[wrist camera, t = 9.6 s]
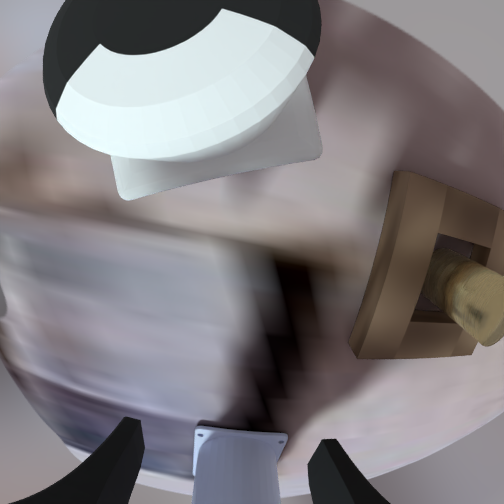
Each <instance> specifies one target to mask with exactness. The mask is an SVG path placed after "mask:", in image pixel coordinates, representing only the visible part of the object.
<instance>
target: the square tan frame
mask: <svg viewBox="0 0 504 504" xmlns="http://www.w3.org/2000/svg"><path fill="white" fill-rule="evenodd" d="M438 233H440V234H444V235H447V236H451V237H454V238H458V239H461V240H465V241H468V242H472V243H474V246H473V250H472V254H471V257H470V259H471V260H473V261H475V262H477V263H479V264H481V265H483V266H485V267H487V268H489V269H491V270H492V271H494V272H496V273H498V274H500V275H502V276H504V210H502V209H500V208H498V207H496V206H494V205H492V204H490V203H488V202H485V201H483V200H481V199H479V198H477V197H474V196H472V195H470V194H467V193H465V192H463V191H460V190H458V189H456V188H453V187H451V186H448V185H446V184H443V183H440V182H438V181H435V180H433V179H430V178H427V177H424V176H422V175H419V174H416V173H413V172H409V171H394V174H393V180H392V185H391V191H390V196H389V201H388V206H387V210H386V215H385V220H384V224H383V228H382V233H381V237H380V241H379V245H378V249H377V253H376V256H375V260H374V264H373V267H372V271H371V275H370V278H369V281H368V285H367V288H366V291H365V295H364V298H363V301H362V304H361V307H360V310H359V313H358V316H357V319H356V322H355V325H354V328H353V331H352V334H351V336H350V339H349V342H348V343H349V345H350V347H351V349H352V350H353V352H354V354H355V356H356V358H357V359H417V358H438V357H453V356H465V355H472V353H473V351H474V349H475V347H476V345H477V343H478V341H477V340H476V339H475V338H474V337H472V336H471V335H470V334H469V333H468V332H467V331H466V330H464V329H463V328H462V327H461V326H460V325H459V324H457V323H456V322H455V321H454V320H453V319H451V318H450V317H449V316H448V315H447V314H445V313H444V312H434V311H421V310H414V309H415V306H416V304H417V301H418V298H419V295H420V292H421V289H422V286H423V283H424V280H425V277H426V274H427V270H428V267H429V264H430V260H431V257H432V253H433V250H434V246H435V242H436V238H437V234H438Z"/></svg>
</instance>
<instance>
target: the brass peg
mask: <svg viewBox="0 0 504 504" xmlns="http://www.w3.org/2000/svg"><path fill="white" fill-rule="evenodd" d="M421 293H422V294H423V295H424V296H425V297H426V298H427V299H428V300H430V301H431V302H432V303H433V304H435V305H436V306H437V307H438V308H439V309H441V310H442V311H443V312H444V313H445V314H447V315H448V316H449V317H450V318H451V319H453V320H454V321H455V322H456V323H457V324H459V325H460V326H461V327H462V328H463V329H464V330H466V331H467V332H468V333H469V334H470V335H471V336H472V337H474V338H475V339H476V340H477V341H478V342H479V343H480V344H481V345H483V346H491V345H493V344H495V343H497V342H498V341H499V340H500V339H501V338H502V337H503V336H504V276H502V275H500V274H498V273H496V272H494V271H492V270H491V269H489V268H487V267H485V266H483V265H481V264H479V263H477V262H475V261H473V260H471V259H469V258H467V257H465V256H463V255H461V254H459V253H457V252H455V251H452V250H450V249H448V248H440V249H438V250H436V251H434V252H433V253H432V257H431V260H430V264H429V267H428V270H427V274H426V277H425V280H424V283H423V286H422V289H421Z"/></svg>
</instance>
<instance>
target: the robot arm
mask: <svg viewBox="0 0 504 504" xmlns="http://www.w3.org/2000/svg"><path fill="white" fill-rule="evenodd" d="M287 440H288V435H287V434H285V433H269V432H253V431H241V430H231V429H222V428H214V427H207V426H197V427H196V428H195V441H194V459H193V475H194V476H195V480H194V488H193V496H192V504H281V500H280V491H279V481H278V472H277V461H278V459H279V457H280V455H281V453H282V451H283V449H284V446H285V444H286V442H287ZM144 449H145V445H144V439H143V433H142V427H141V420H137V419H133V418H130V417H124V418H123V419H122V421H121V422H120V423H119V424H118V426H117V427H116V428H115V429H114V431H113V432H112V433H111V434H110V435H109V436H108V438H107V439H106V440H105V441H104V442H103V443H102V444H101V445H100V446H99V447H98V448H97V449H96V450H95V451H94V452H93V453H92V454H91V455H90V456H89V457H88V458H87V459H86V460H85V461H84V462H83V463H81V464H80V465H79V466H78V467H77V468H76V469H74V470H73V471H72V472H70V473H69V474H68V475H66V476H65V477H64V478H62V479H61V480H59V481H58V482H56V483H54V484H53V485H51V486H49V487H48V488H46V489H44V490H42V491H40V492H38V493H36V494H34V495H31V496H30V497H27V498H25V499H22V500H19V501H16V502H13V503H9V504H128V502H129V499H130V496H131V493H132V490H133V488H134V485H135V482H136V479H137V476H138V473H139V471H140V468H141V463H142V459H143V454H144ZM308 478H309V487H310V491H311V495H312V500H313V504H390V503H389V502H388V501H387V500H386V499H385V498H384V497H383V496H381V494H380V493H379V492H378V491H377V490H376V489H375V488H374V487H373V486H372V485H371V484H370V483H369V482H368V481H367V479H366V478H365V477H364V476H363V474H362V473H361V472H360V471H359V470H358V468H357V467H356V466H355V464H354V463H353V462H352V460H351V459H350V458H349V456H348V455H347V454H346V452H345V451H344V449H343V448H342V446H341V445H340V444H339V442H338V441H337V440H336V439H322V440H321V442H320V444H319V446H318V447H317V449H316V451H315V453H314V454H313V456H312V458H311V459H310V461H309V463H308Z"/></svg>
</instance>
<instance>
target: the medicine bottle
mask: <svg viewBox="0 0 504 504" xmlns="http://www.w3.org/2000/svg"><path fill="white" fill-rule="evenodd" d="M320 34H321V14H320V7H319V4H318V0H65V2H64V3H63V5H62V7H61V8H60V10H59V12H58V13H57V15H56V17H55V19H54V21H53V23H52V26H51V28H50V31H49V34H48V37H47V40H46V43H45V49H44V55H43V83H44V89H45V95H46V98H47V100H48V103H49V106H50V108H51V110H52V112H53V114H54V116H55V117H56V119H57V121H58V122H59V123H60V124H61V125H62V126H63V128H64V129H65V130H66V131H67V132H68V133H69V134H70V135H72V136H73V137H74V138H75V139H77V140H78V141H79V142H81V143H83V144H85V145H87V146H89V147H90V148H92V149H95V150H98V151H100V152H103V153H106V154H109V155H111V160H112V165H113V170H114V175H115V180H116V184H117V189H118V193H119V195H120V197H121V198H123V199H124V200H134V199H137V198H141V197H144V196H148V195H151V194H155V193H159V192H162V191H166V190H170V189H174V188H178V187H182V186H186V185H190V184H194V183H198V182H202V181H207V180H211V179H215V178H220V177H225V176H229V175H234V174H239V173H244V172H248V171H254V170H259V169H264V168H269V167H275V166H280V165H286V164H292V163H298V162H304V161H311V160H315V159H317V158H319V157H320V156H321V154H322V148H323V147H322V142H321V137H320V132H319V128H318V123H317V118H316V114H315V110H314V105H313V101H312V97H311V93H310V89H309V85H308V81H307V77H306V73H307V71H308V69H309V68H310V66H311V64H312V62H313V60H314V58H315V55H316V51H317V48H318V45H319V42H320Z"/></svg>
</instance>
